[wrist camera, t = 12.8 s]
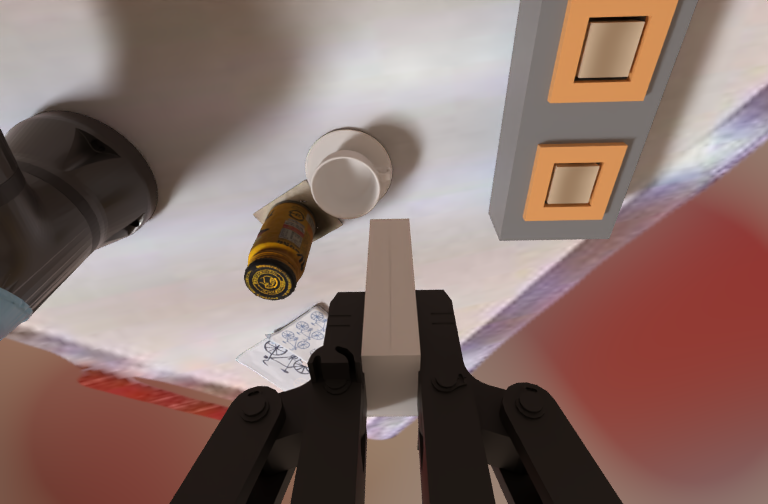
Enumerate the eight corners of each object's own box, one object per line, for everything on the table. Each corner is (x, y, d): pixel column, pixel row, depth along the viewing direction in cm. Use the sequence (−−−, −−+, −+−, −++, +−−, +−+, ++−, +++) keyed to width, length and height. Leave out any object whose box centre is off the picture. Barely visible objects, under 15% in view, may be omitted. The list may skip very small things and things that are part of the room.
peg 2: (552, 62, 39) (579, 78, 33) (562, 14, 36) (593, 23, 31) (594, 60, 38) (627, 76, 33) (607, 13, 36) (645, 21, 31)
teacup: (321, 214, 49) (316, 235, 46) (293, 138, 44) (284, 155, 40) (400, 199, 48) (401, 219, 44) (381, 118, 42) (381, 134, 39)
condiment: (253, 213, 49) (220, 275, 40) (305, 179, 46) (284, 236, 37) (292, 253, 53) (270, 318, 43) (343, 223, 50) (332, 286, 40)
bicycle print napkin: (395, 365, 67) (395, 375, 65) (308, 406, 75) (306, 416, 73) (318, 298, 58) (316, 309, 57) (228, 352, 66) (224, 363, 64)
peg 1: (529, 175, 46) (548, 203, 40) (536, 141, 43) (557, 167, 38) (564, 174, 46) (588, 203, 40) (573, 141, 43) (599, 166, 38)
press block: (488, 213, 49) (501, 244, 43) (528, -54, 34) (555, -57, 28) (587, 211, 49) (612, 242, 43) (672, -59, 33) (728, -63, 28)
